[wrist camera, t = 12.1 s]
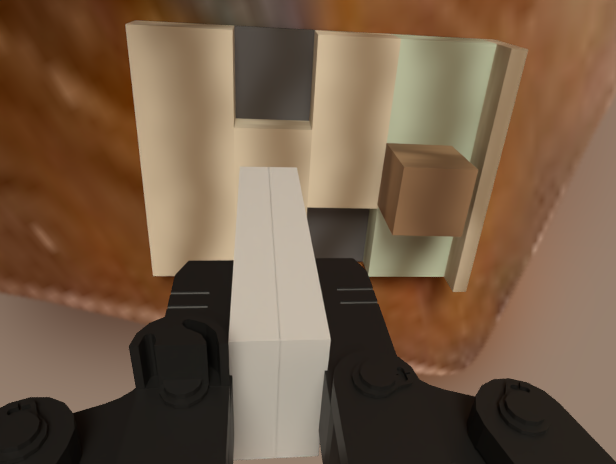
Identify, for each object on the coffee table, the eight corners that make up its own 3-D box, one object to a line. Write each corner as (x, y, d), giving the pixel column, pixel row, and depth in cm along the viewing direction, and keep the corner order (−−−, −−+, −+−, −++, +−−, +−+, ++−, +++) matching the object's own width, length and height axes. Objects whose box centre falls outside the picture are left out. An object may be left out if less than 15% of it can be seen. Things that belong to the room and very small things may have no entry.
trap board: (159, 258, 37) (147, 292, 34) (135, 20, 29) (115, 27, 26) (445, 260, 40) (465, 291, 36) (495, 39, 32) (528, 49, 28)
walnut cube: (377, 204, 34) (392, 235, 30) (386, 142, 32) (404, 167, 28) (438, 206, 34) (461, 236, 31) (451, 145, 32) (478, 170, 28)
